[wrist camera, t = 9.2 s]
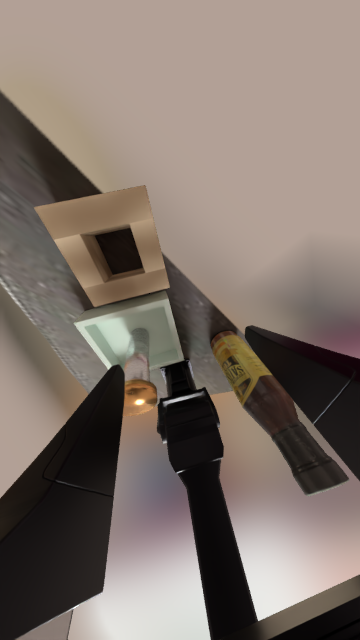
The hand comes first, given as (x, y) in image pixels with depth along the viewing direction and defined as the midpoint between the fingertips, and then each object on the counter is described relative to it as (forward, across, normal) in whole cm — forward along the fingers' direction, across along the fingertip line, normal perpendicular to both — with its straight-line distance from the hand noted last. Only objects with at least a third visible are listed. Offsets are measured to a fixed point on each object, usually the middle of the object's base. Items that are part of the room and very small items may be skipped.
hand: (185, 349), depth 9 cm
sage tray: (+13, +6, +6) cm, 16 cm away
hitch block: (+13, +4, -6) cm, 15 cm away
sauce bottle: (+13, -9, +14) cm, 21 cm away
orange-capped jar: (+12, +6, +6) cm, 15 cm away
